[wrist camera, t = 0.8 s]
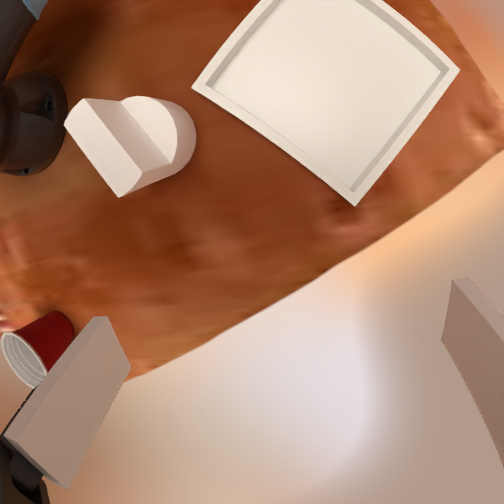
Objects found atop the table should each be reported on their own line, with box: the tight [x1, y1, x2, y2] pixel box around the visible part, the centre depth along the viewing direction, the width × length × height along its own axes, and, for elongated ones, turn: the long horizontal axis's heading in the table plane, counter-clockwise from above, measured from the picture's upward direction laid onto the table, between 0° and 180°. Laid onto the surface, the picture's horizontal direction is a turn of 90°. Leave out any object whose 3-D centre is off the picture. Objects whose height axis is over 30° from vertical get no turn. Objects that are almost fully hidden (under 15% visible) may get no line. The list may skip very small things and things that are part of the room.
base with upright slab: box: [64, 96, 196, 198], centre depth 26 cm, size 9×9×12 cm
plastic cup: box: [1, 311, 74, 389], centre depth 39 cm, size 11×11×12 cm
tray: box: [191, 0, 460, 206], centre depth 26 cm, size 20×20×3 cm
